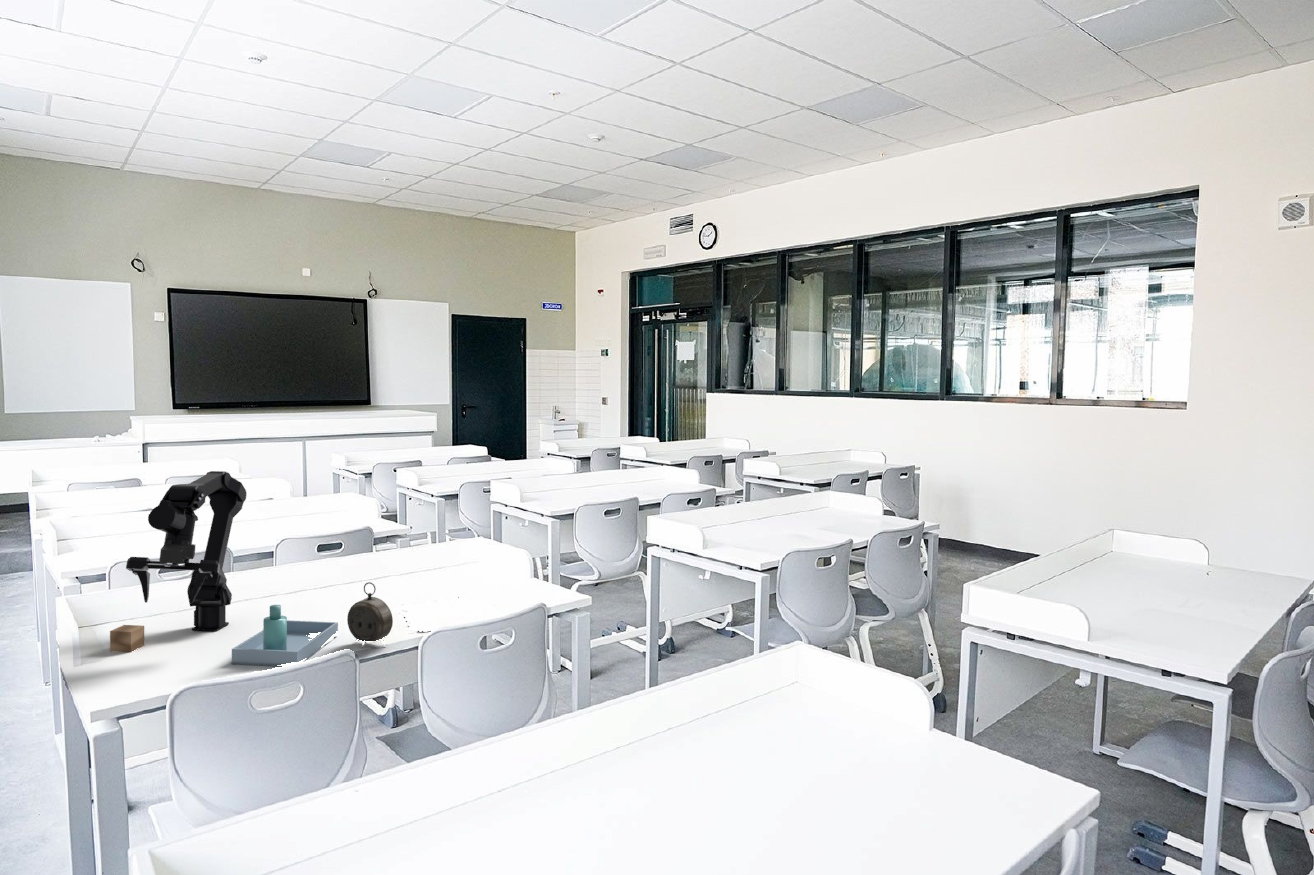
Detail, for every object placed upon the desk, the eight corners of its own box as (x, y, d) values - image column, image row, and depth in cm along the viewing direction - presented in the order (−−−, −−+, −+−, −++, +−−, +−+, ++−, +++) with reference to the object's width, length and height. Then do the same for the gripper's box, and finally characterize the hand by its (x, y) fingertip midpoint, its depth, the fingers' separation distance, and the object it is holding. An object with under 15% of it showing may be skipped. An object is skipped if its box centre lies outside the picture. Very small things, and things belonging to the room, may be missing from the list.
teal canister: (284, 651, 197) (285, 602, 196) (288, 657, 193) (288, 607, 192) (261, 654, 194) (262, 604, 194) (264, 660, 190) (265, 610, 189)
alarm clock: (393, 646, 206) (394, 582, 205) (379, 652, 201) (380, 587, 200) (357, 640, 209) (358, 577, 208) (343, 646, 204) (343, 582, 203)
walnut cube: (144, 645, 199) (144, 625, 199) (131, 652, 194) (130, 631, 194) (123, 645, 199) (123, 624, 199) (110, 651, 194) (109, 631, 194)
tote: (337, 636, 212) (338, 622, 211) (297, 667, 188) (297, 651, 188) (279, 633, 212) (279, 620, 212) (231, 664, 189) (231, 649, 188)
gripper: (128, 528, 185) (115, 599, 180) (220, 533, 192) (211, 601, 188) (135, 536, 194) (124, 602, 190) (223, 540, 202) (214, 605, 197)
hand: (168, 603), depth 191 cm, fingers open, 9 cm apart
